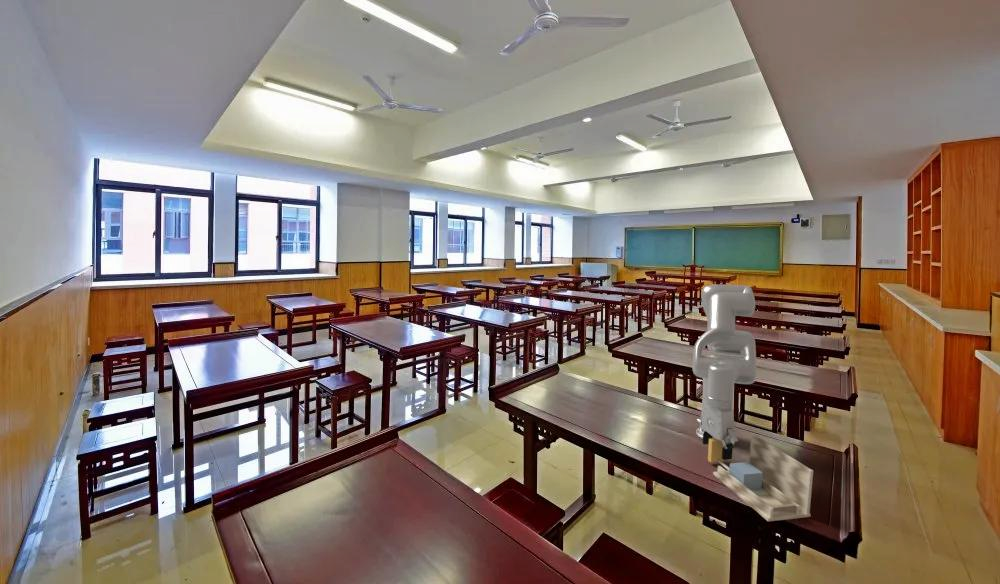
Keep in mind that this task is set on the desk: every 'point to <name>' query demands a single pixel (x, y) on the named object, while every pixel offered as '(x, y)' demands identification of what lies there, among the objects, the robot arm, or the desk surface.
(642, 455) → the desk surface
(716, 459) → the toy blocks
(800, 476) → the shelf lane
